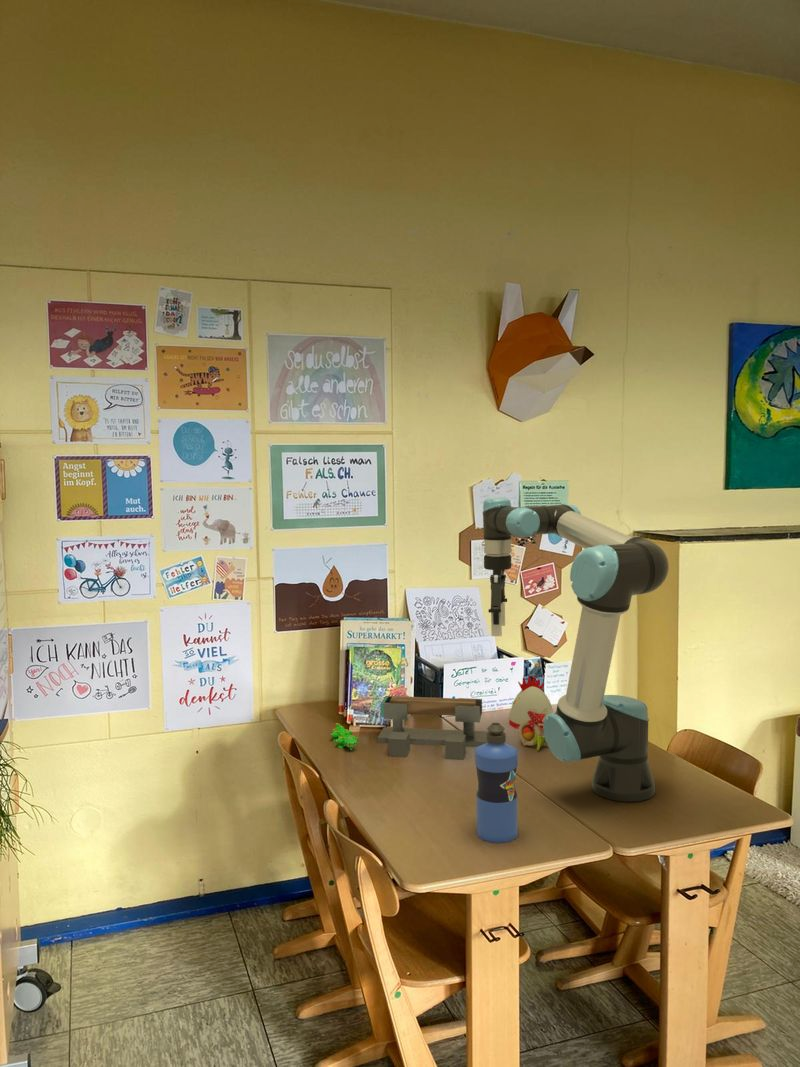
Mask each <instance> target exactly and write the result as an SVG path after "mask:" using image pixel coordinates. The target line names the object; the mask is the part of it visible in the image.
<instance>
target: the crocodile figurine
mask: <svg viewBox="0 0 800 1067" xmlns="http://www.w3.org/2000/svg"><path fill="white" fill-rule="evenodd" d="M330 736H331V737H332V738H333V739H332V742H334V743H337V744H338V745H337V748H338V749H343V748H344V747H346V748H347V749H349V751H354V747H357V746H358V745H357V742H358V741H359V737H357V736H354V735H353V731H352V730H349V729H346V728H345V726H343V725H341V724H340V722H338V723H337V722H336V723H335V728H333V729H332V732H331V733H330Z"/></svg>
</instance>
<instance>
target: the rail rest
mask: <svg viewBox="0 0 800 1067" xmlns="http://www.w3.org/2000/svg"><path fill="white" fill-rule="evenodd" d="M387 746H388V757H400V758H401V757H402V758H407V756H408V754H409V753H410V750H411V744H410V732H392V733H391V735H390V737H389V738H388V743H387ZM444 749H445V750H444V751H445V752H444V753H445V754H444V756H445V757H444V758H445V760H460V761H461V760H465V756H466V753H467V746H466V735H461V734H448V735H447V738H446V740H445V745H444Z"/></svg>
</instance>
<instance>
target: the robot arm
mask: <svg viewBox="0 0 800 1067" xmlns="http://www.w3.org/2000/svg"><path fill="white" fill-rule="evenodd" d="M482 525H483V527H482V528H483V531H482V533H483V542H481V546H482V547H483V553H484V556H483V568H484V569H485V570H489V571H490V570H491V571H492V574H491V575H490V576H489V582H490V594H491V595H490V608H489V609H487V610H488V613H490V614H491V615H490V616H491V617H490V619H491V620H490V622H491V624H490V626H491V627H490V628H491V632H490V633H491V635H490V636H491V637H502V636H503V630H502V629H503V628H502V627H503V626H504V627H505V626H506V603H507V602H508V598H506V592H505V588H506V574H505V571H506V570H510V569H512V556H511V553H512V536H514V537H517V538H530V537H532V536H536V535H537V536H538V535H552V534H554V535H557V536H559V537H560V538H563V539H565V540H567V541H569V542H571V543H573V544H574V545H577V546H579V547H581V548H583V550H581V551H580V552H579V553H577V555H575V558H574V559H573V560H572V564H571V566H570V572H569V580H570V582H571V585H570V587H571V589H572V591H573V593H574V595H575V596H576V600H577V602H578V603H579V604H580V605H581V611H580V612H581V613H580V617H579V624H578V628H577V634H576V639H575V645H574V650H573V654H572V661H571V665H570V670H569V671H570V672H569V677H568V683H567V686H566V687H567V688H566V693H565V694H564V695H562V696H561V697H560V698H558V700H557V706H556V711H555V712H553V713H550V714H549V715H547V716H546V717H545V719H544V723H543V730H542V731H543V736H545V740H546V742H547V744H546V746H548V749H549V750H550V752H551V754H552V755H553V756H554V757H555V758H557V760H558V761H561V762H562V763H570V762H579V761H581V760H586V759H590V758H595V757H598V760H597V763H596V765H595V768H594V771H593V774H592V777H591V789H592V791H593V792H594V793H595V794H596V795H598V796H600V797H603V798H605V799H608V800H611V801H617V802H625V803H628V802H629V803H630V802H631V803H632V802H633V803H634V802H642V801H646V800H649V799H651V798H653V797H654V796H655V794H656V782H655V778H654V776H653V773H652V770H651V766H650V763H649V759H648V757H649V755H648V753H649V752H648V751H649V721H650V719H649V714H648V713H649V712H648V706H647V705H646V703H645V702H643V701H642V700H640V699H637V698H634V697H630V696H626V695H619V694H618V695H617V694H605V693H606V689H607V682H608V678H609V675H610V674H609V673H610V669H611V663H612V658H613V653H614V651H615V650H614V649H615V646H616V640H617V635H618V631H619V630H618V629H619V625H620V620H621V616H622V615H623V614H625V613H627V612H628V611H629V609H630V606H631V601H632V597H633V596H636V595H643V594H649V593H651V592H654V591H655V590H657V589H658V588H659V587H660V586H662V585H663V583H664V582H665V580H666V578H667V577H668V573H669V565H670V564H669V559H668V556H667V554H666V553H665V551H664V550H663V548H661V546H659V545H658V544H656V543H655V542H653V541H652V540H649V539H646V538H644V537H642V536H639V535H638V536H637V535H636V536H630V535H628V534H625V533H623V532H620V531H618V530H617V529H614V528H611V527H609V526H607V525H606V524H603V523H601V522H598V521H596V520H595V519H594V520H593V519H591V518H590V517H587V516H585V515H582V513H581V511H580V509H578V507H577V506H576V505H573V504H566V503H561V504H553V505H551V504H550V505H541V506H539V505H537V506H535V505H534V506H520V507H519V506H512V504H511V500H510V499H509V498H507V497H492V498H490V497H489V498H486V499H484V500H483V511H482Z"/></svg>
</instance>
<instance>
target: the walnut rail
mask: <svg viewBox="0 0 800 1067" xmlns="http://www.w3.org/2000/svg"><path fill="white" fill-rule="evenodd" d="M391 696H392V698H391V699H390V703H405V704H408V714H410V715H419V716H420V715H423V716H446V717H448V716H451V717H455V705H461V706H476V699H477V698H469V699H458V698H459V697H458V698H453V697H452V698H450V697H423V696H421V697H420V696H409V697H398V696H399V695H391Z"/></svg>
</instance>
